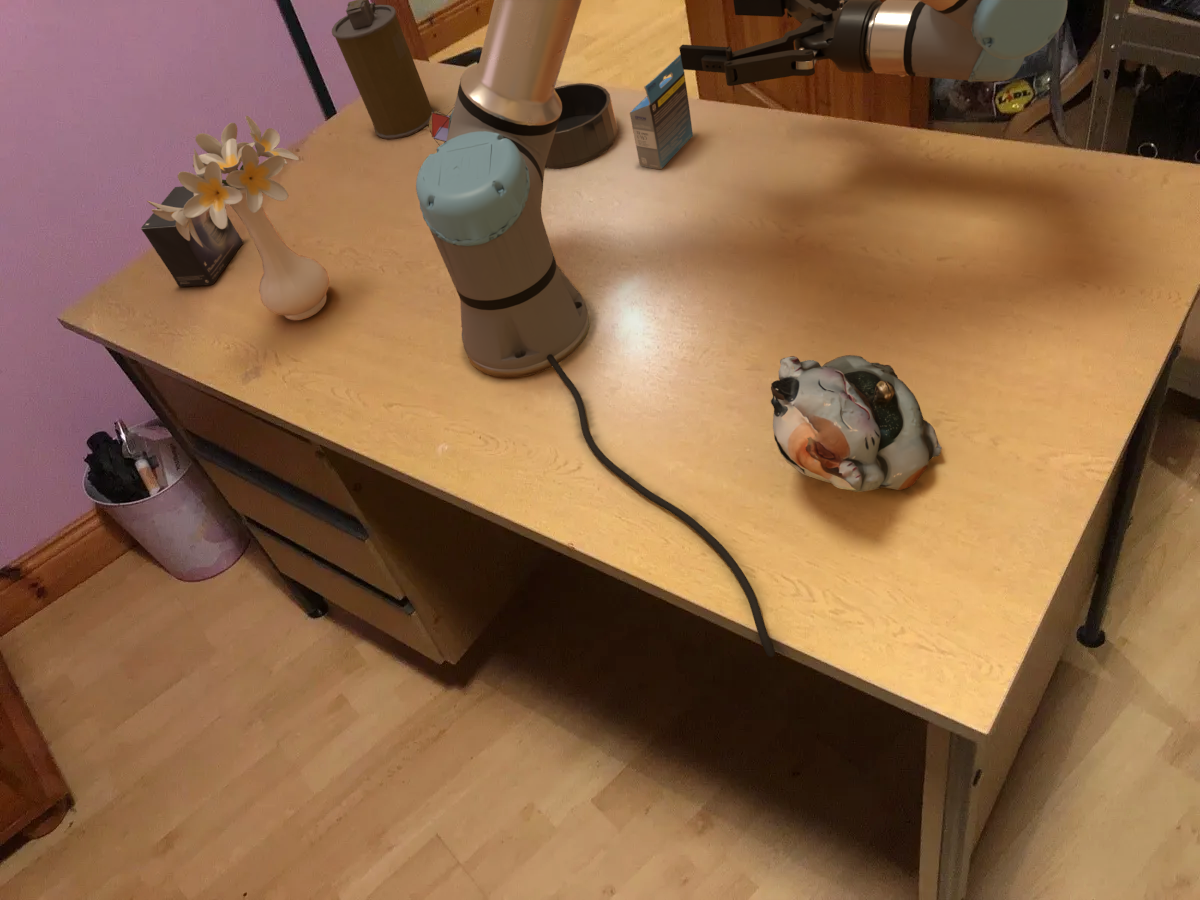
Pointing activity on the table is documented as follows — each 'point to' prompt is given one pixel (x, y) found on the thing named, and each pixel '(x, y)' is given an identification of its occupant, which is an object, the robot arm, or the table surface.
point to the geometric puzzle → (439, 125)
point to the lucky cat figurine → (850, 424)
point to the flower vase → (251, 214)
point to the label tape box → (662, 118)
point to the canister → (383, 69)
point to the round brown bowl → (582, 125)
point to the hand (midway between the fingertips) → (709, 29)
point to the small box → (192, 244)
